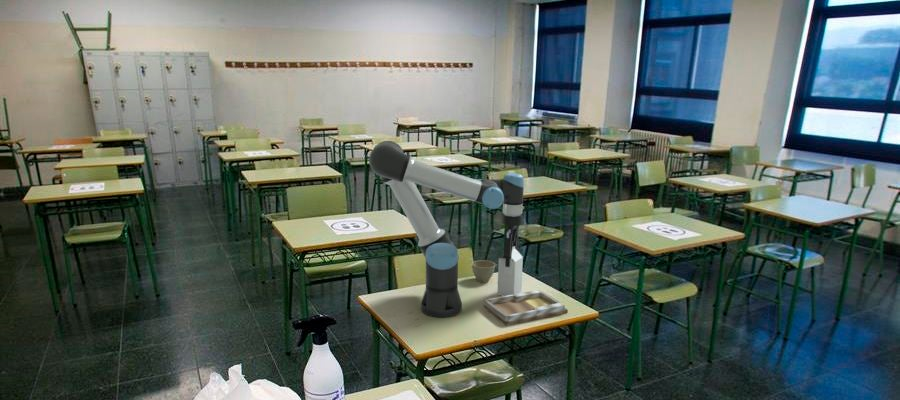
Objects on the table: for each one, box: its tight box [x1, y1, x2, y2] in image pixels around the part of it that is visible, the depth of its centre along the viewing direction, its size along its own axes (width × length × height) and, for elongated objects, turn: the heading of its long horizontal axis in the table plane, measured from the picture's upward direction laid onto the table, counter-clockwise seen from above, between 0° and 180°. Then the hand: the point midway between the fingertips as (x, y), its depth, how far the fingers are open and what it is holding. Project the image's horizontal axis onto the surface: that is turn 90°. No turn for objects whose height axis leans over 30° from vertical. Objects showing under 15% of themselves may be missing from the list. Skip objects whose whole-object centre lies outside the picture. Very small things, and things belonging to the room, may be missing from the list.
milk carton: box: [497, 246, 524, 297], centre depth 203 cm, size 7×7×19 cm
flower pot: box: [471, 259, 496, 283], centre depth 219 cm, size 10×10×7 cm
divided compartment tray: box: [483, 289, 569, 326], centre depth 189 cm, size 26×16×3 cm, turn 115°
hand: (510, 270), depth 203 cm, fingers closed on milk carton, 8 cm apart
